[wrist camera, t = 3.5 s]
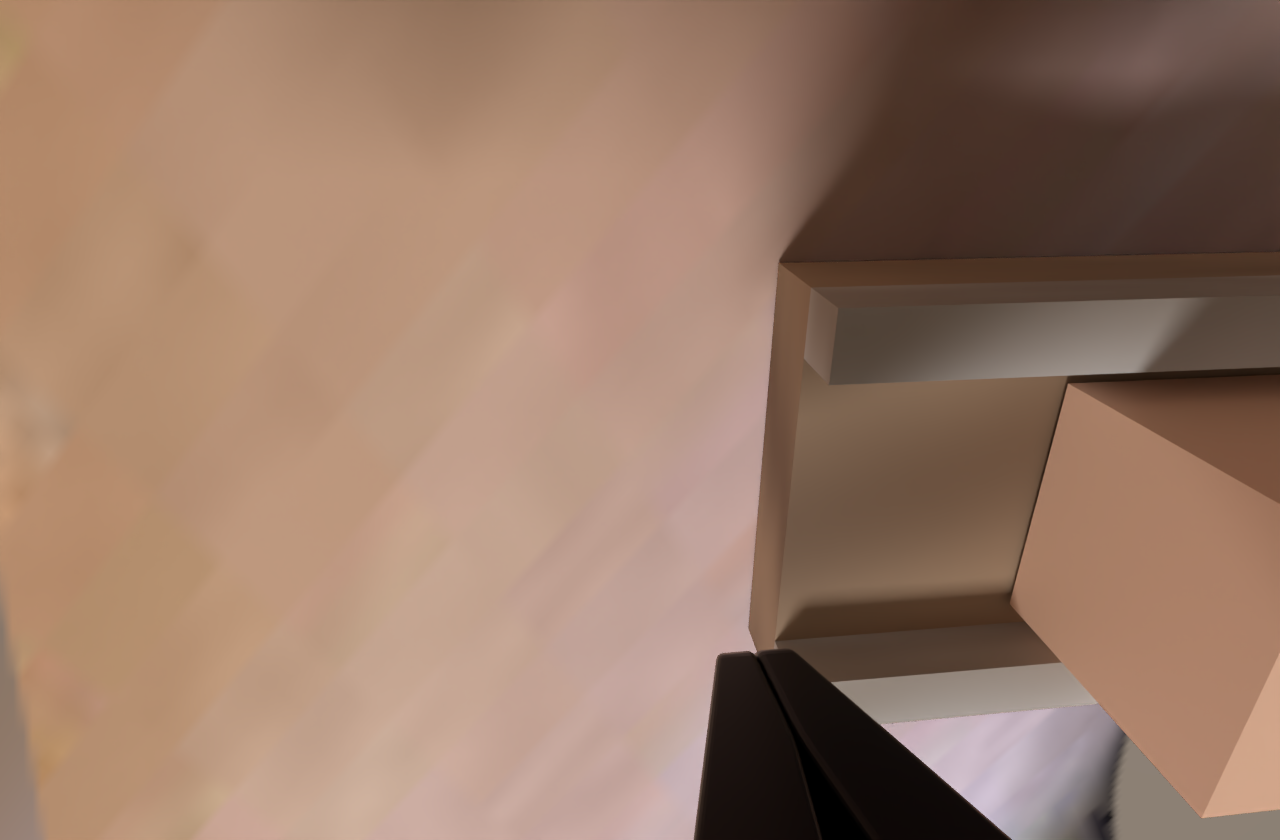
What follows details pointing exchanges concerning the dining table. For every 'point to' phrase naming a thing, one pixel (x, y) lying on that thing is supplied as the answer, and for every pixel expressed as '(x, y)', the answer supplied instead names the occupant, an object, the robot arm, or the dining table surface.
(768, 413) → the track
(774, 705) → the robot arm
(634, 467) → the dining table surface
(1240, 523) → the block
